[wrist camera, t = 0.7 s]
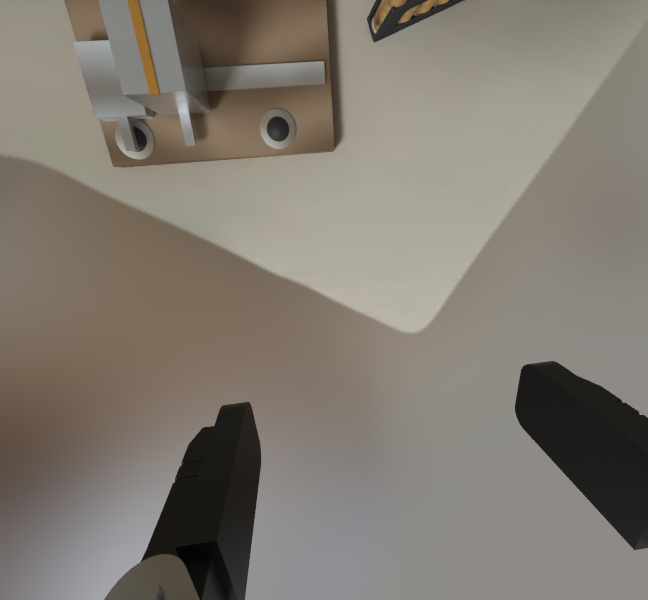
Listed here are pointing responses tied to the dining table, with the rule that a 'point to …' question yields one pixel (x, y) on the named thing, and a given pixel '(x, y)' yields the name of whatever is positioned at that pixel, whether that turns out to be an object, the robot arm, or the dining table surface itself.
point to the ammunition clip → (402, 14)
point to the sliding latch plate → (222, 84)
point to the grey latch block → (157, 59)
